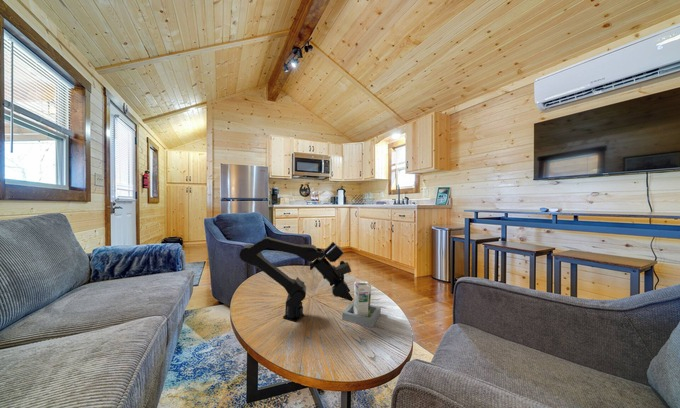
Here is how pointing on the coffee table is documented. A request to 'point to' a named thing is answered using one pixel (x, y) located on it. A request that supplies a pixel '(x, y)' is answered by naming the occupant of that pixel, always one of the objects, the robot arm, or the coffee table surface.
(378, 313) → the socket board
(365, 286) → the syrup box
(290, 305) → the robot arm
